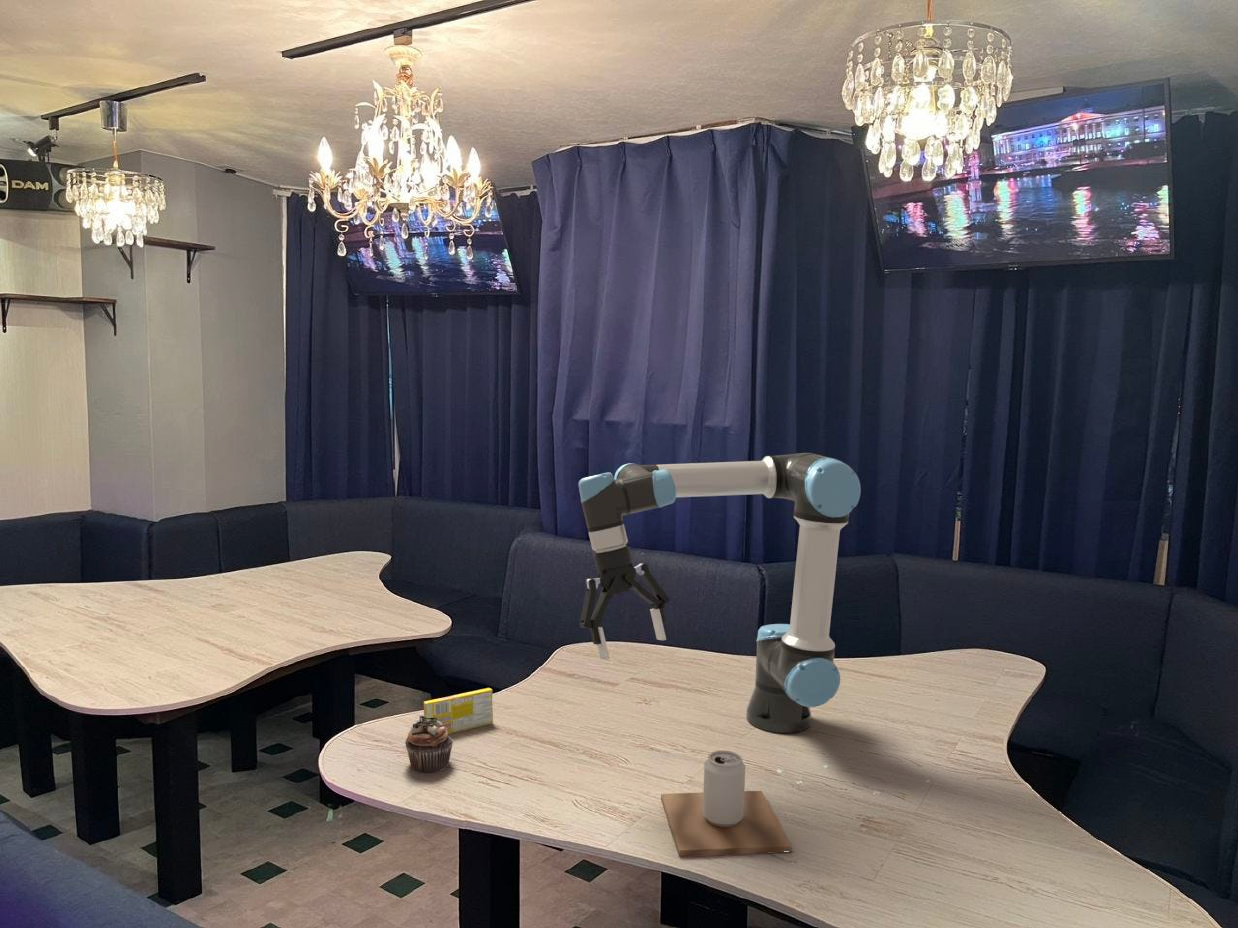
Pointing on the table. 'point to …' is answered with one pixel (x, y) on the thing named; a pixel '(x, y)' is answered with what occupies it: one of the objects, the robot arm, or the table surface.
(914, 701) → the table surface
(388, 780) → the table surface
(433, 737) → the cupcake
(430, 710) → the candy box
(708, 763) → the can
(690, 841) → the walnut board
